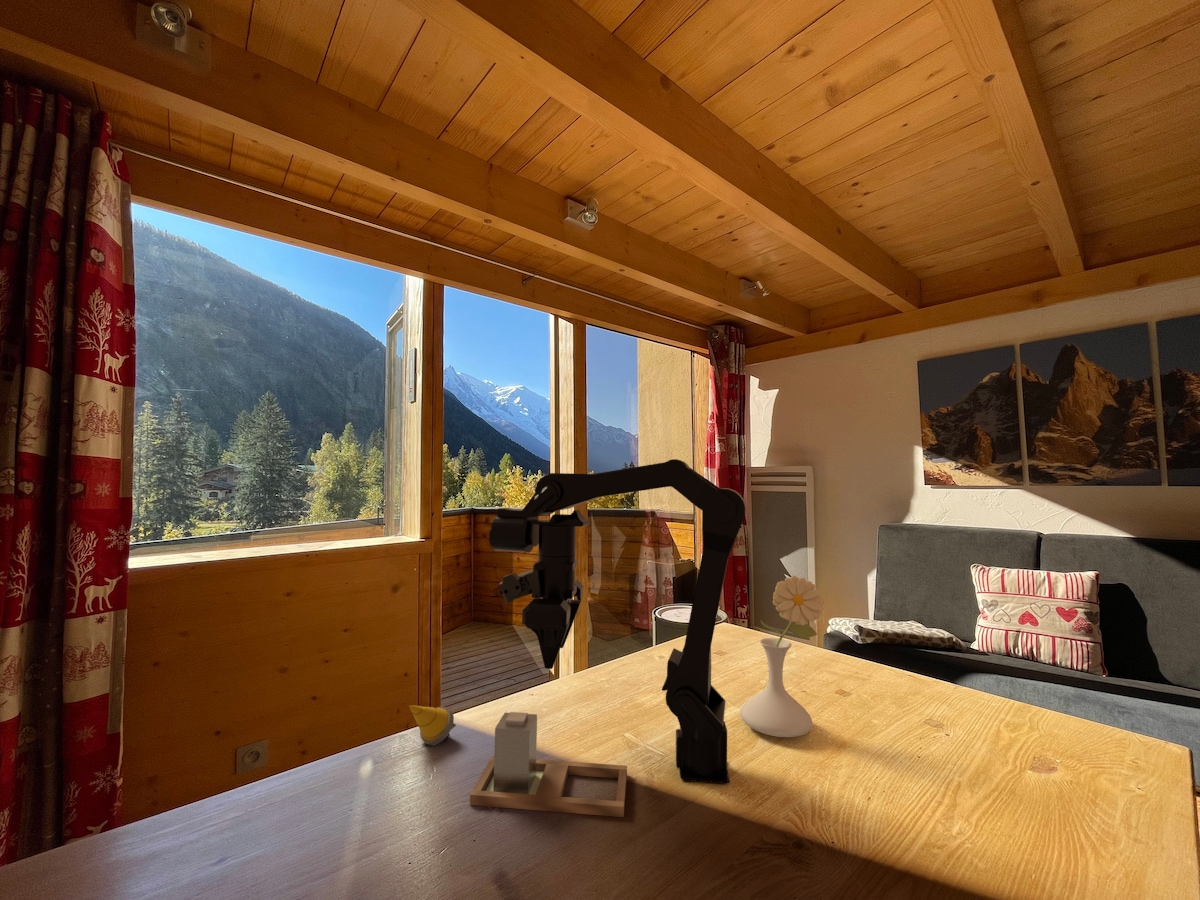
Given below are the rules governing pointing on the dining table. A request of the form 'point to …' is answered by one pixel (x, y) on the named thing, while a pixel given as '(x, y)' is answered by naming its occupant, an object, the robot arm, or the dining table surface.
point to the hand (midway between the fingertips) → (554, 657)
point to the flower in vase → (774, 704)
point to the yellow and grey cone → (433, 723)
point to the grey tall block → (515, 753)
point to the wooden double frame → (554, 789)
